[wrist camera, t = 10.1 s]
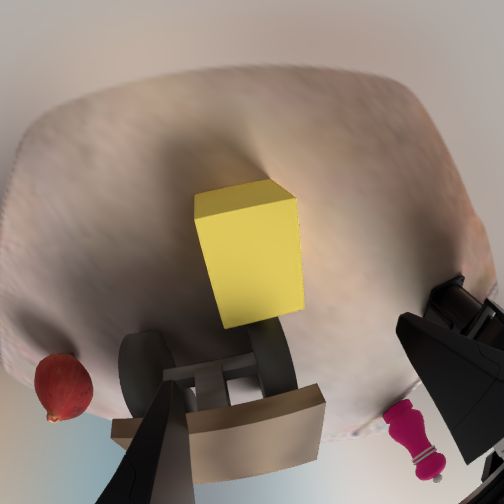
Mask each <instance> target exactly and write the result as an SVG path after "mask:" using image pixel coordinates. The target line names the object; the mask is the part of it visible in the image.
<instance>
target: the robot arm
mask: <svg viewBox="0 0 504 504" xmlns="http://www.w3.org/2000/svg"><path fill="white" fill-rule="evenodd" d="M464 279H465V277H464V276H463V275H461V276H459V277H457V278H455V279H453V280H450V281H448V282H446V283H444V284H442V285H440V286H438V287H436V288H434V289H433V290H432V292H431V296H430V299H429V303H428V306H427V310H426V313H425V316H424V318H422V317H419V316H417V315H415V314H412V313H410V312H406V313H403V314H401V315H400V316H399V318H398V322H397V326H396V334H397V336H398V338H399V340H400V342H401V344H402V346H403V348H404V350H405V352H406V355H407V357H408V359H409V361H410V362H411V364H412V366H413V367H414V369H415V371H416V372H417V374H418V376H419V377H420V379H421V381H422V382H423V384H424V385H425V387H426V389H427V391H428V392H429V394H430V396H431V397H432V399H433V401H434V403H435V405H436V406H437V408H438V410H439V412H440V414H441V415H442V417H443V419H444V421H445V423H446V425H447V427H448V429H449V430H450V432H451V435H452V436H453V438H454V440H455V442H456V444H457V446H458V448H459V450H460V452H461V455H462V457H463V458H464V461H465V463H466V464H467V465H469V464H470V463H471V462H473V461H474V460H476V459H477V458H478V457H480V456H481V455H483V454H484V453H485V452H487V451H488V450H489V449H491V448H492V447H494V450H493V451H492V452H491V453H490V455H488V456H487V457H486V461H485V465H484V470H483V474H482V478H481V480H482V482H483V483H482V484H481V485H480V486H479V487H478V488H477V489H476V490H475V491H473V492H472V493H471V494H470V495H469V496H468V497H466V498H465V499H464V500H463V501H461V502H460V503H459V504H504V310H503V309H502V308H501V307H500V306H499V305H498V304H496V303H495V302H493V301H492V300H490V299H488V298H486V299H485V301H484V304H482V303H480V302H479V301H478V300H477V299H476V298H475V297H473V296H472V295H471V294H470V293H469V292H467V291H466V290H465V289H464V288H463V287H462V286H463V283H464ZM494 312H495V313H496V314H495V315H494V317H493V316H492V315H493V313H494ZM95 504H195V498H194V489H193V479H192V468H191V456H190V442H189V430H188V424H187V418H186V413H185V407H184V401H183V395H182V392H181V390H180V388H179V387H178V385H177V384H176V382H175V380H173V379H170V380H164V381H163V382H162V383H161V385H160V387H159V389H158V391H157V392H156V394H155V396H154V398H153V400H152V402H151V404H150V406H149V408H148V410H147V412H146V414H145V416H144V418H143V420H142V421H141V423H140V425H139V427H138V429H137V431H136V433H135V435H134V437H133V439H132V441H131V443H130V445H129V447H128V449H127V451H126V455H124V457H123V459H122V461H121V463H120V465H119V467H118V468H117V470H116V472H115V474H114V475H113V477H112V479H111V480H110V482H109V483H108V485H107V486H106V488H105V489H104V491H103V492H102V494H101V495H100V497H99V498H98V500H97V501H96V503H95Z"/></svg>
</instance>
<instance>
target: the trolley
mask: <svg viewBox="0 0 504 504" xmlns="http://www.w3.org/2000/svg"><path fill="white" fill-rule="evenodd" d="M246 328H247V332H248V337H249V341H250V345H251V349H252V352H251V353H247V354H243V355H239V356H234V357H230V358H225V359H220V360H216V361H211V362H205V363H200V364H195V365H189V366H184V367H178V368H176V365H175V362H174V359H173V356H172V354H171V351H170V349H169V347H168V344H167V343H166V341H165V339H164V338H163V336H162V335H161V334H160V333H159V332H158V331H156V330H151V331H145V332H139V333H134V334H129V335H127V336H126V337H125V338H124V339H123V341H122V343H121V347H120V351H119V359H118V369H119V379H120V385H121V389H122V393H123V396H124V400H125V402H126V405H127V407H128V409H129V411H130V413H131V415H132V417H133V418H127V419H113V420H112V429H111V439H112V440H114V441H115V442H116V443H117V444H119V445H120V446H121V447H122V448H124V449H125V450H126V451H127V449H128V447H129V445H130V443H131V441H132V439H133V437H134V435H135V433H136V431H137V429H138V427H139V425H140V423H141V421H142V420H143V418H144V416H145V414H146V412H147V410H148V408H149V406H150V404H151V402H152V400H153V398H154V396H155V394H156V392H157V391H158V389H159V387H160V385H161V383H162V382H163V381H164V380H170V379H173V380H175V382H176V384H177V385H178V387H179V388H180V390H181V392H182V395H183V401H184V407H185V413H186V418H187V424H188V430H189V442H190V456H191V468H192V479H193V484H204V483H212V482H221V481H229V480H235V479H241V478H247V477H252V476H257V475H262V474H267V473H271V472H275V471H279V470H283V469H287V468H291V467H294V466H298V465H301V464H304V463H307V462H311V461H313V460H316V459H317V455H318V450H319V444H320V438H321V432H322V426H323V420H324V413H325V406H326V401H325V399H324V397H323V395H322V393H321V391H320V388H319V386H318V384H317V383H316V384H313V385H310V386H306V387H303V388H300V389H298V385H297V379H296V374H295V370H294V366H293V362H292V358H291V354H290V351H289V347H288V344H287V341H286V338H285V335H284V332H283V329H282V326H281V323H280V321H279V318H278V316H276V317H272V318H269V319H265V320H261V321H257V322H253V323H249V324H246ZM254 374H257V375H258V380H259V384H260V388H261V392H262V395H263V399H260V400H256V401H251V402H247V403H242V404H238V405H233V406H231V403H230V398H229V393H228V387H227V381H228V380H233V379H237V378H242V377H246V376H250V375H254ZM190 387H195V388H196V396H195V394H194V393H193V391H192V390H191V389H190Z"/></svg>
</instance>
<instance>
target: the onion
mask: <svg viewBox="0 0 504 504" xmlns="http://www.w3.org/2000/svg"><path fill="white" fill-rule="evenodd" d="M34 386H35V391H36V393H37V396H38V398H39V400H40V402H41V404H42V405H43V407H44V408H45V409H46V410H47V421H50V423H56V422H58V421H62V420H68V419H72V418H75V417H77V416H79V415H81V414H82V413H83V412H84V411H85V410H86V409H87V407H88V406H89V404H90V402H91V400H92V397H93V385H92V381H91V378H90V375H89V373H88V372H87V370H86V369H85V368H84V366H83V365H82V364H81V363H80V362H79V361H78V360H77V359H76V358H75V357H74V356H73V355H71V354H51V355H49V356H47V357H46V358H44V359H43V360H41V361H40V362H39V364H38V366H37V368H36V372H35V379H34Z"/></svg>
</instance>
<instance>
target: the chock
mask: <svg viewBox="0 0 504 504" xmlns="http://www.w3.org/2000/svg"><path fill="white" fill-rule="evenodd" d="M194 220H195V224H196V228H197V232H198V236H199V240H200V244H201V248H202V252H203V255H204V259H205V263H206V267H207V270H208V274H209V278H210V281H211V285H212V288H213V292H214V295H215V299H216V302H217V306H218V309H219V312H220V316H221V319H222V322H223V326H224V329H227V328H232V327H236V326H240V325H244V324H249V323H253V322H257V321H261V320H265V319H269V318H272V317H276V316H280V315H284V314H287V313H291V312H295V311H298V310H302V309H305V308H304V289H303V272H302V258H301V244H300V232H299V221H298V210H297V200H296V197H294V196H293V195H292V194H291V193H289V192H288V191H287V190H285V189H284V188H283V187H281V186H280V185H279V184H277V183H276V182H274V181H273V180H272V179H266V180H261V181H255V182H250V183H245V184H240V185H235V186H230V187H226V188H221V189H216V190H212V191H207V192H203V193H199V194H195V196H194Z"/></svg>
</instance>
